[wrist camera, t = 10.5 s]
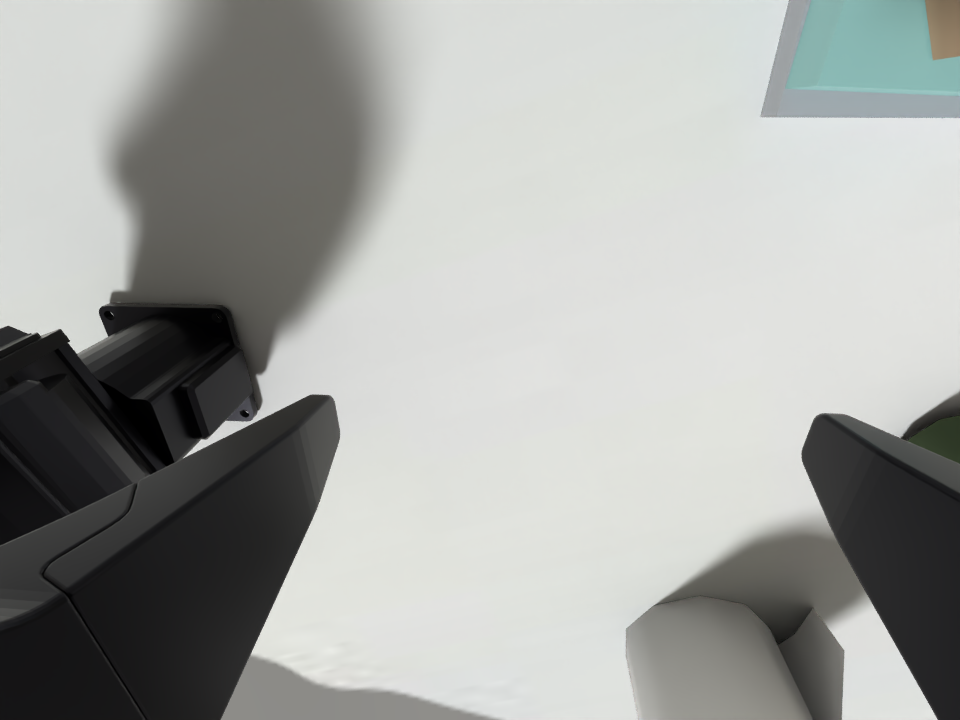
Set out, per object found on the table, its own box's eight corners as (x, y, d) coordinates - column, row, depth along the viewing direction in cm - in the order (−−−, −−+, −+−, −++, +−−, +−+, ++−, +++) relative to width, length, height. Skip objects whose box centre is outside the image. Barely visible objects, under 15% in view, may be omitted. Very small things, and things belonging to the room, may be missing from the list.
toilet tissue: (847, 598, 29) (963, 771, 21) (700, 696, 35) (750, 858, 27) (730, 540, 28) (810, 703, 20) (597, 652, 33) (619, 811, 26)
